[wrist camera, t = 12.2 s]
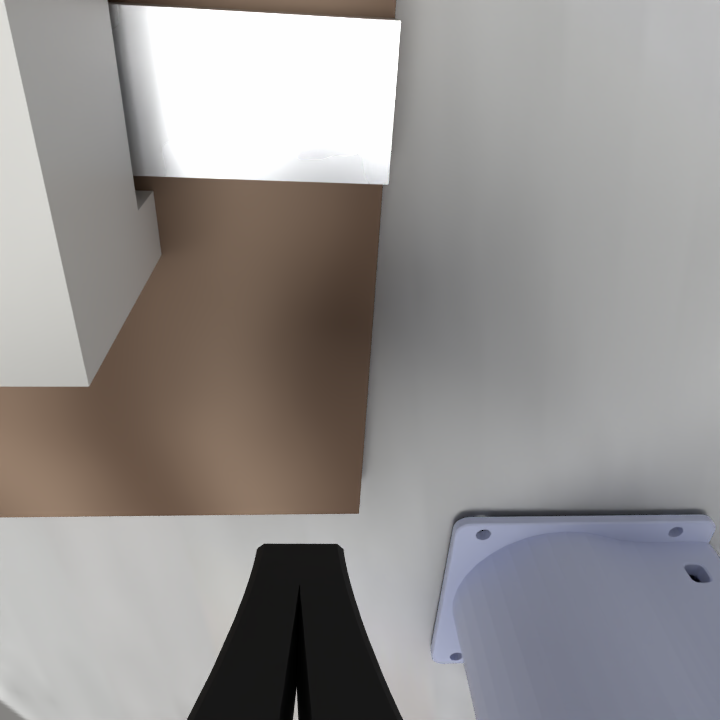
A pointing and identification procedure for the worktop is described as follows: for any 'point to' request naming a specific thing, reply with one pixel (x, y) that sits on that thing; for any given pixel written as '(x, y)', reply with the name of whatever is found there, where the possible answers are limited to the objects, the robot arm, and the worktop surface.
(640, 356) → the worktop surface
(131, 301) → the block
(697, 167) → the worktop surface
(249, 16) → the rail
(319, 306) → the board
